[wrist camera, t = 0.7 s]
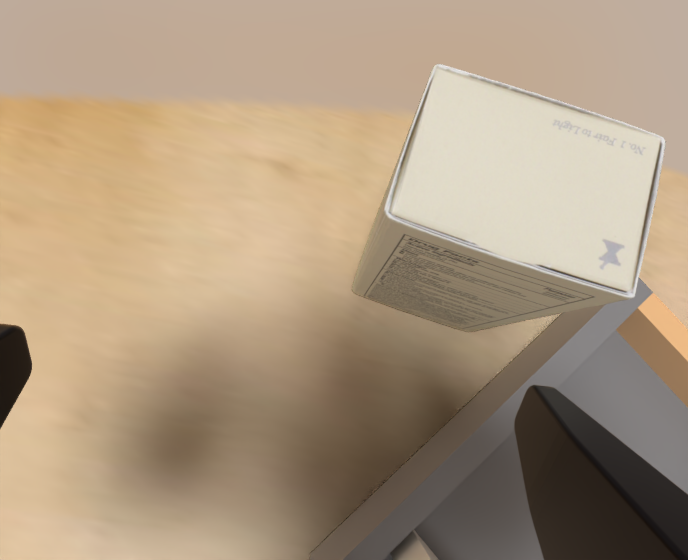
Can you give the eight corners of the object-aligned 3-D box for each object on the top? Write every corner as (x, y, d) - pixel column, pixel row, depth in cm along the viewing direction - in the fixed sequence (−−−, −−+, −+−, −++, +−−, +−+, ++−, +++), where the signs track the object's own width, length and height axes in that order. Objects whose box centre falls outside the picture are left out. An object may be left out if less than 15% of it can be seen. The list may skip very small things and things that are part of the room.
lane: (766, 479, 22) (929, 520, 16) (499, 791, 19) (582, 978, 13) (588, 288, 23) (681, 261, 18) (309, 553, 20) (309, 630, 14)
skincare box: (492, 252, 23) (680, 134, 12) (468, 338, 23) (645, 305, 11) (372, 211, 23) (436, 50, 11) (343, 295, 23) (381, 215, 11)
